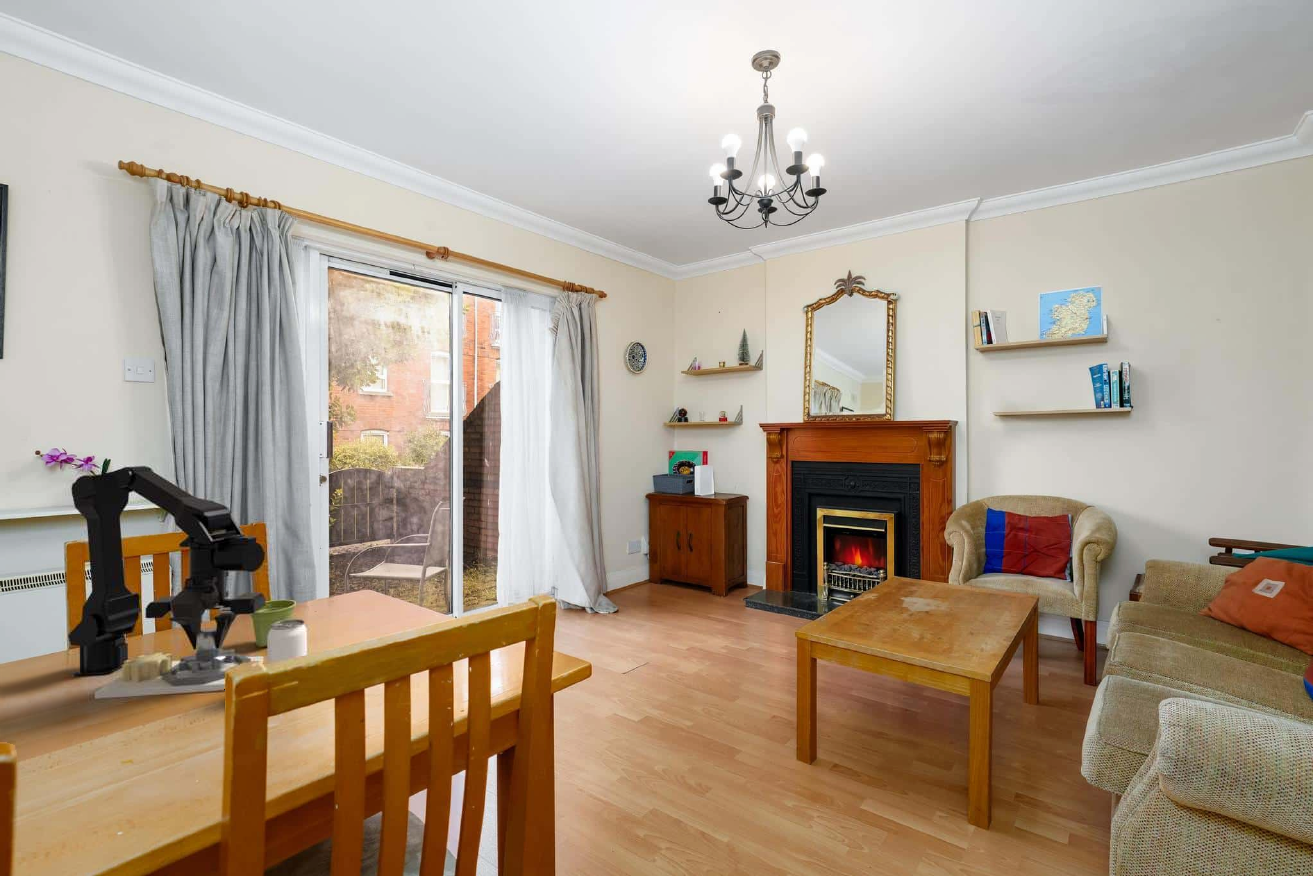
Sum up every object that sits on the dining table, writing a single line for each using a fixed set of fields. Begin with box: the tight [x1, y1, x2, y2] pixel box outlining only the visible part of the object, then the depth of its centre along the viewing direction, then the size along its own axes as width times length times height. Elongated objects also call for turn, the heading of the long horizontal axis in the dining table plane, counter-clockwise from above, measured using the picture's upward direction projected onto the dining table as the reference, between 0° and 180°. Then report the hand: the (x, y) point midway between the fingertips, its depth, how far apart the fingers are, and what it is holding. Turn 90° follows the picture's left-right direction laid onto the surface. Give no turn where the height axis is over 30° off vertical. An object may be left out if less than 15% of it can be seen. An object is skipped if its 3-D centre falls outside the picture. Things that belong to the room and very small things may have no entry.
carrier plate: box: [94, 652, 264, 700], centre depth 119 cm, size 22×14×4 cm, turn 101°
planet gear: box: [179, 627, 236, 673], centre depth 120 cm, size 9×9×6 cm
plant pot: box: [249, 599, 297, 648], centre depth 139 cm, size 9×9×9 cm
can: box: [266, 618, 308, 664], centre depth 116 cm, size 6×6×12 cm
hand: (207, 648), depth 120 cm, fingers closed on planet gear, 4 cm apart
